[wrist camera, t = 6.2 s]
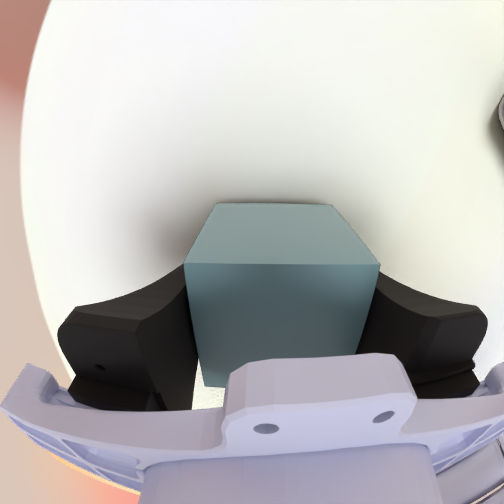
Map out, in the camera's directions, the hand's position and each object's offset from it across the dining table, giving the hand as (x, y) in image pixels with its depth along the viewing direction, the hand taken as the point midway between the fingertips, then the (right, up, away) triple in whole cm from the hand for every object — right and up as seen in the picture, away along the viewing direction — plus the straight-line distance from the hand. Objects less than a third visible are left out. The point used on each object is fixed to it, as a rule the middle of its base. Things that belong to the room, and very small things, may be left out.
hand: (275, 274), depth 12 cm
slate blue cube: (0, +1, +2) cm, 2 cm away
